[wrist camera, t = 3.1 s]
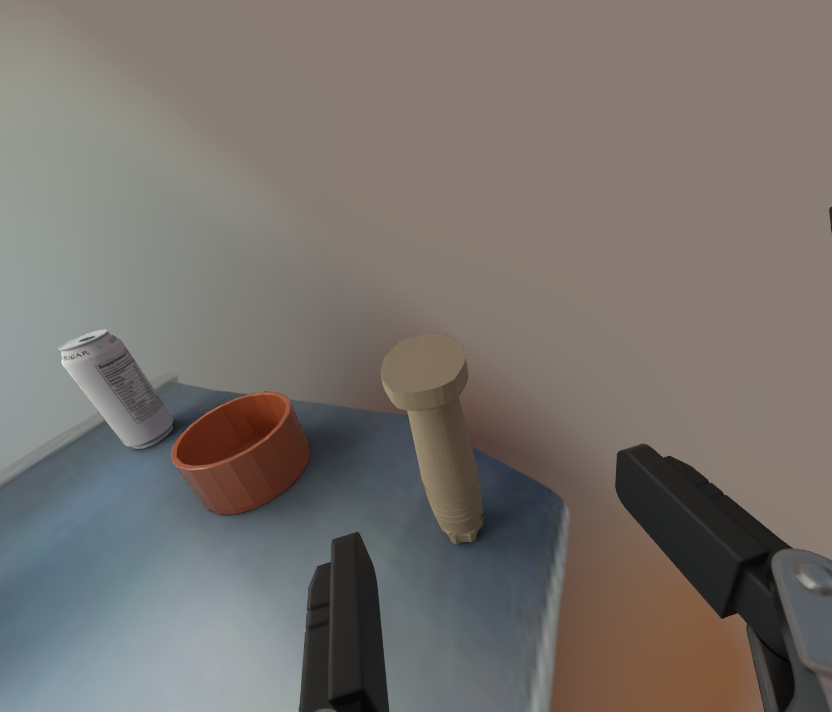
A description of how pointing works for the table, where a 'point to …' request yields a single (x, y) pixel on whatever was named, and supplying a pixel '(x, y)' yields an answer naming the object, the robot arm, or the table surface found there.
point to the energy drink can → (117, 388)
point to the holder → (242, 453)
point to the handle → (438, 427)
